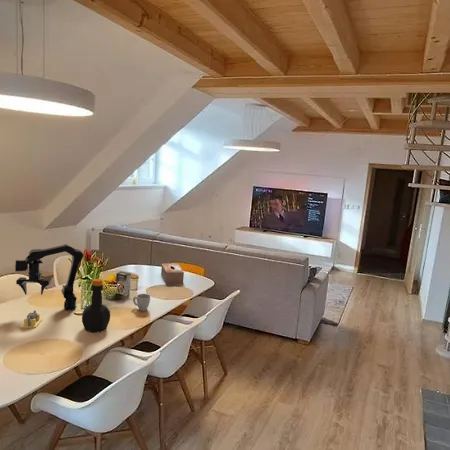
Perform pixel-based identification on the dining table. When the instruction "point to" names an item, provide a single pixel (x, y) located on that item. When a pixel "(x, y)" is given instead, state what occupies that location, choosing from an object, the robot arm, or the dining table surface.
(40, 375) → the dining table surface
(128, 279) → the coffee box
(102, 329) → the bottle
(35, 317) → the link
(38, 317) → the keeper
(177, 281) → the tissue box cover
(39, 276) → the robot arm
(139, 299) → the mug
